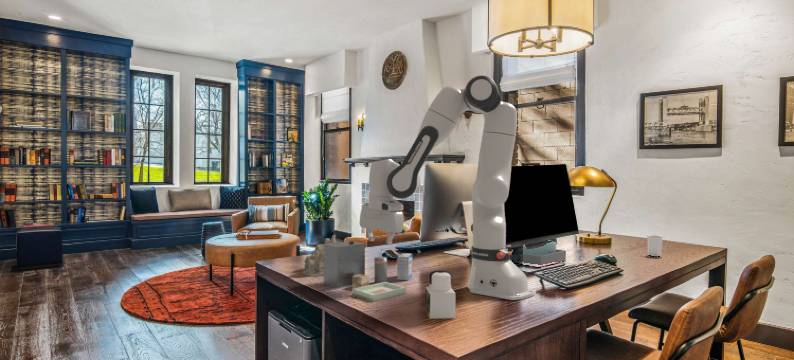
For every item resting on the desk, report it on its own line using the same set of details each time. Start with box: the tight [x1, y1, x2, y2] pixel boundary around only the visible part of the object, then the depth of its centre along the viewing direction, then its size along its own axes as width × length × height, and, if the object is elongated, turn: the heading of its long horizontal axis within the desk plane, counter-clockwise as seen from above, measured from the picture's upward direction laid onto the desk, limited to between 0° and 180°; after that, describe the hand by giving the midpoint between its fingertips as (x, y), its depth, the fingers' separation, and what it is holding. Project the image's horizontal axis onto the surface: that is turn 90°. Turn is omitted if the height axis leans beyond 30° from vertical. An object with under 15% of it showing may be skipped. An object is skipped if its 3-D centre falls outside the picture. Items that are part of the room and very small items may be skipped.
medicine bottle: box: [425, 270, 456, 320], centre depth 124 cm, size 7×7×12 cm
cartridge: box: [373, 256, 388, 284], centre depth 159 cm, size 4×4×9 cm
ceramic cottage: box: [302, 234, 337, 277], centre depth 177 cm, size 16×16×15 cm
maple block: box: [351, 274, 370, 289], centre depth 153 cm, size 4×4×4 cm
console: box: [323, 240, 366, 289], centre depth 159 cm, size 9×12×15 cm
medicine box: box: [396, 252, 413, 281], centre depth 168 cm, size 8×4×9 cm, turn 168°
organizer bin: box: [523, 248, 567, 265], centre depth 199 cm, size 14×22×5 cm, turn 133°
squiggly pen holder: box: [523, 241, 557, 256], centre depth 201 cm, size 18×10×9 cm, turn 106°
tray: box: [351, 281, 407, 303], centre depth 145 cm, size 10×14×2 cm
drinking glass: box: [646, 234, 664, 256], centre depth 218 cm, size 7×7×10 cm
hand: (379, 242), depth 159 cm, fingers open, 8 cm apart
